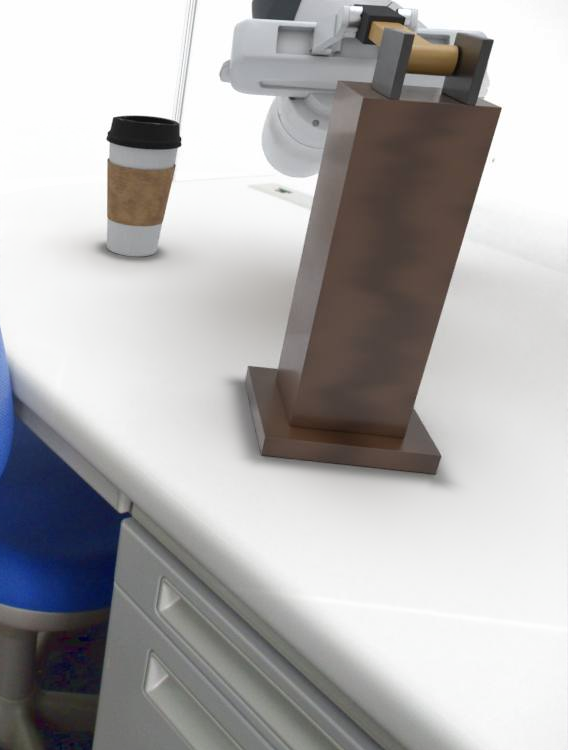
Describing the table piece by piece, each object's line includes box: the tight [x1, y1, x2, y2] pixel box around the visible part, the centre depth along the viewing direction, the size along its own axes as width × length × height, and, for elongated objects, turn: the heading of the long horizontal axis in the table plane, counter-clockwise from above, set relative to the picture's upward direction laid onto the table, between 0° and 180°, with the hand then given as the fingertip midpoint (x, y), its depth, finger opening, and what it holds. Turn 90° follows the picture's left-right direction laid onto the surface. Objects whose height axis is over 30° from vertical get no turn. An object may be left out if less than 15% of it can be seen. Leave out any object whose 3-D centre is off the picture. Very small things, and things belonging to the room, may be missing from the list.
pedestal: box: [244, 27, 503, 475], centre depth 60 cm, size 12×12×28 cm
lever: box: [354, 4, 458, 77], centre depth 61 cm, size 4×18×2 cm, turn 173°
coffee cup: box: [106, 115, 182, 258], centre depth 99 cm, size 8×8×15 cm
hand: (380, 16), depth 65 cm, fingers closed on lever, 3 cm apart
